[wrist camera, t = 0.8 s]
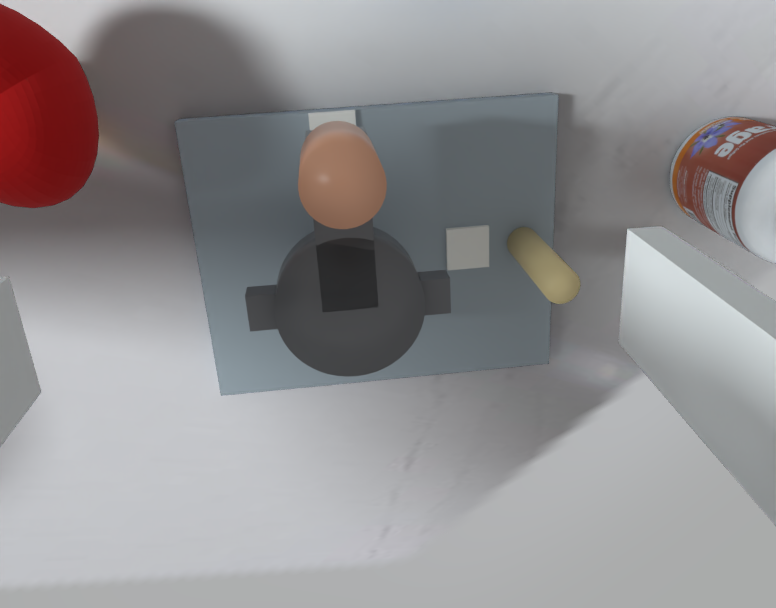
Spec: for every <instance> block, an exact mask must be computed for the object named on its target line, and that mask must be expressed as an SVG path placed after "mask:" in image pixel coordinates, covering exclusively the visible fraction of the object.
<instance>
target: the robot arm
mask: <svg viewBox="0 0 776 608" xmlns="http://www.w3.org/2000/svg"><path fill="white" fill-rule="evenodd" d="M618 343H619V344H620V345H621V346H622V348H623V349H624V350H625V351H626V352H627V353H628V355H629V356H630V357H631V358H632V359H633V360H634V362H635V363H636V364H637V365H638V366H639V367H640V369H641V370H642V371H643V372H644V373H645V374H646V376H647V377H648V378H649V379H650V380H651V381H652V382H653V384H654V385H655V386H656V387H657V388H658V389H659V391H660V392H661V393H662V394H663V395H664V397H665V398H666V399H667V400H668V401H669V402H670V404H671V405H672V406H673V407H674V408H675V409H676V411H677V412H678V413H679V414H680V415H681V416H682V418H683V419H684V420H685V421H686V422H687V423H688V425H689V426H690V427H691V428H692V429H693V430H694V431H695V433H696V434H697V435H698V436H699V437H700V439H701V440H702V441H703V442H704V443H705V444H706V446H707V447H708V448H709V449H710V450H711V451H712V452H713V454H714V455H715V456H716V457H717V458H718V459H719V461H720V462H721V463H722V464H723V465H724V467H725V468H726V469H727V470H728V471H729V472H730V473H731V475H732V476H733V477H734V478H735V479H736V480H737V482H738V483H739V484H740V485H741V486H742V487H743V489H744V490H745V491H746V492H747V493H748V494H749V496H750V497H751V498H752V499H753V500H754V501H755V503H756V504H757V505H758V506H759V507H760V508H761V510H762V511H763V512H764V513H765V514H766V515H767V517H768V518H769V519H770V520H771V521H772V522H773V524H774V525H775V526H776V301H775V300H773V299H772V298H770V297H769V296H767V295H765V294H764V293H762V292H761V291H759V290H758V289H756V288H755V287H753V286H752V285H750V284H749V283H747V282H746V281H744V280H743V279H741V278H740V277H738V276H737V275H735V274H734V273H732V272H731V271H729V270H728V269H726V268H725V267H723V266H722V265H720V264H719V263H717V262H716V261H714V260H713V259H711V258H710V257H708V256H707V255H705V254H704V253H702V252H701V251H699V250H697V249H696V248H694V247H693V246H691V245H690V244H688V243H687V242H685V241H684V240H682V239H681V238H679V237H678V236H676V235H675V234H673V233H672V232H670V231H669V230H667V229H666V228H664V227H663V226H655V227H642V228H629V229H627V240H626V253H625V265H624V278H623V291H622V304H621V317H620V329H619V342H618ZM40 393H41V389H40V385H39V382H38V378H37V375H36V371H35V368H34V364H33V360H32V357H31V353H30V350H29V346H28V343H27V339H26V336H25V332H24V328H23V325H22V321H21V318H20V314H19V311H18V307H17V304H16V300H15V297H14V293H13V289H12V286H11V282H10V279H9V276H8V277H0V447H1V446H2V444H3V443H4V442H5V440H6V439H7V437H8V436H9V435H10V433H11V432H12V431H13V429H14V428H15V427H16V425H17V424H18V423H19V421H20V420H21V419H22V417H23V416H24V415H25V413H26V412H27V411H28V409H29V408H30V407H31V405H32V404H33V403H34V401H35V400H36V399H37V397H38V396H39V395H40Z"/></svg>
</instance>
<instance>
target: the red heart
mask: <svg viewBox="0 0 776 608" xmlns="http://www.w3.org/2000/svg"><path fill="white" fill-rule="evenodd" d="M98 139H99V131H98V117H97V112H96V107H95V102H94V98H93V94H92V92H91V89H90V86H89V83H88V80H87V77H86V75H85V73H84V71H83V69H82V67H81V65H80V63H79V61H78V59H77V58H76V57H75V56H74V55H73V54H72V53H71V52H70V51H69V50H68V49H67V48H66V47H65V46H64V45H63V44H62V43H61V42H60V41H59V40H58V39H56V38H55V37H54V36H53V35H51V34H50V33H49V32H47V31H46V30H45V29H44V28H42V27H41V26H40V25H38V24H37V23H35V22H33V21H32V20H30V19H28V18H27V17H25V16H24V15H22V14H20V13H19V12H17V11H15V10H12V9H10V8H8V7H6V6H4V5H2V4H0V202H1V203H4V204H8V205H11V206H17V207H28V208H38V207H45V206H52V205H56V204H58V203H60V202H63V201H65V200H67V199H69V198H71V197H72V196H73V195H74V194H75V193H77V192H78V191H79V190H80V189H81V188H82V187H83V186H84V184H85V183H86V181H87V179H88V178H89V176H90V174H91V172H92V170H93V167H94V163H95V160H96V157H97V150H98Z"/></svg>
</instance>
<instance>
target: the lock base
mask: <svg viewBox="0 0 776 608" xmlns="http://www.w3.org/2000/svg"><path fill="white" fill-rule="evenodd" d="M558 96H559V95H557V94H554V93H538V94H524V95H510V96H496V97H482V98H468V99H454V100H440V101H426V102H412V103H398V104H384V105H370V106H355V107H341V108H327V109H313V110H299V111H285V112H271V113H257V114H243V115H229V116H215V117H201V118H187V119H178V120H177V121H176V122H175V128H176V134H177V140H178V146H179V152H180V158H181V164H182V170H183V175H184V181H185V187H186V193H187V199H188V205H189V211H190V217H191V223H192V228H193V234H194V240H195V246H196V252H197V258H198V264H199V270H200V275H201V281H202V287H203V293H204V299H205V305H206V311H207V317H208V322H209V328H210V334H211V340H212V346H213V352H214V358H215V364H216V370H217V375H218V381H219V387H220V393H221V396H223V395H233V394H243V393H254V392H264V391H274V390H284V389H295V388H305V387H315V386H325V385H335V384H346V383H356V382H366V381H376V380H387V379H397V378H407V377H417V376H427V375H438V374H448V373H458V372H468V371H479V370H489V369H499V368H509V367H520V366H530V365H540V364H549V347H550V319H551V302H553V303H556V304H564V303H567V302H569V301H571V300H572V299H573V298H575V296H576V295H577V294H578V292H579V289H580V279H579V277H578V275H577V274H576V273H575V272H574V271H573V270H572V269H571V268H570V267H569V266H568V265H567V264H566V263H565V262H564V261H563V260H562V259H561V258H560V257H559V256H558V255H557V254H556V253H555V252H554V251H553V235H554V208H555V180H556V152H557V124H558ZM330 121H345V122H349V123H351V124H354V125H356V126H357V127H364V128H365V130H366V132H367V136H368V137H369V138H370V140H371V142H372V144H373V146H374V149H375V151H376V153H377V155H378V158H379V160H380V162H381V165H382V167H383V169H384V172H385V175H386V181H387V190H386V196H385V199H384V202H383V204H382V206H381V208H380V210H379V211H378V212H377V213H376V215H375V216H374V217H373V227H375V228H378V229H380V230H382V231H384V232H386V233H388V234H389V235H390V236H392V237H393V238H395V239H396V240H397V241H398V242H399V243H400V244H401V245H402V246H403V247H404V249H405V250H406V251H407V252H408V254H409V256H410V257H411V259H412V261H413V264H414V266H415V269H416V271H417V272H424V271H435V270H446V271H447V273H448V275H449V277H450V293H451V313H447V314H436V315H425V316H424V321H423V324H422V328H421V330H420V332H419V335H418V337H417V339H416V340H415V342H414V343H413V345H412V346H411V347H410V348H409V350H408V351H407V352H406V353H405V354H404V355H403V356H402V357H401V358H400V359H398V360H397V361H395V362H394V363H393V364H391V365H389V366H388V367H386V368H384V369H382V370H379V371H377V372H374V373H370V374H367V375H361V376H351V377H344V376H335V375H330V374H326V373H323V372H320V371H317V370H315V369H313V368H311V367H309V366H308V365H306V364H304V363H303V362H302V361H300V360H299V359H298V358H297V357H296V356H295V355H294V354H293V353H292V352H291V351H290V350H289V349H288V347H287V346H286V345H285V343H284V342H283V340H282V338H281V336H280V334H279V331H278V329H273V330H262V331H251V332H250V328H249V321H248V314H247V307H246V301H245V294H246V289H247V287H253V286H264V285H276V284H277V280H278V275H279V271H280V269H281V266H282V263H283V261H284V260H285V258H286V256H287V254H288V253H289V252H290V250H291V249H292V248H293V247H294V246H295V245H296V244H297V243H298V242H299V241H300V240H301V239H302V238H304V237H305V236H306V235H308V234H310V233H311V232H313V231H314V222H313V218H312V217H311V216H310V215H309V214H308V212H307V211H306V210H305V208H304V206H303V204H302V202H301V200H300V197H299V191H298V178H299V165H300V153H301V148H302V145H303V143H304V141H305V131H310V130H314V129H315V128H316V127H318V126H319V125H321V124H324V123H327V122H330Z"/></svg>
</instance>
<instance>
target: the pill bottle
mask: <svg viewBox="0 0 776 608" xmlns="http://www.w3.org/2000/svg"><path fill="white" fill-rule="evenodd" d="M670 188H671V192H672V195H673V198H674V200H675V202H676V204H677V205H678V207H679V208H680V209H681V210H682V211H683V212H684V213H685V214H686V215H688V216H689V217H691V218H692V219H694V220H695V221H697V222H699V223H701V224H702V225H704V226H706V227H708V228H709V229H711V230H712V231H714V232H716V233H718V234H719V235H721V236H723V237H725V238H727V239H728V240H730V241H732V242H734V243H735V244H737V245H739V246H740V247H742V248H744V249H746V250H747V251H749V252H751V253H753V254H754V255H756V256H758V257H760V258H762V259H764V260H766V261H769V262H771V263H775V264H776V126H773V125H769V124H765V123H762V122H758V121H755V120H751V119H747V118H741V117H724V118H719V119H716V120H713V121H711V122H708V123H706V124H704V125H703V126H701V127H700V128H698V129H697V130H695V131H694V132H693V133H692V134H691V135H690V136H689V137H687V139H686V140H685V141H684V142H683V144H682V145H681V146H680V148H679V149H678V151H677V153H676V155H675V157H674V159H673V162H672V165H671V171H670Z"/></svg>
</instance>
